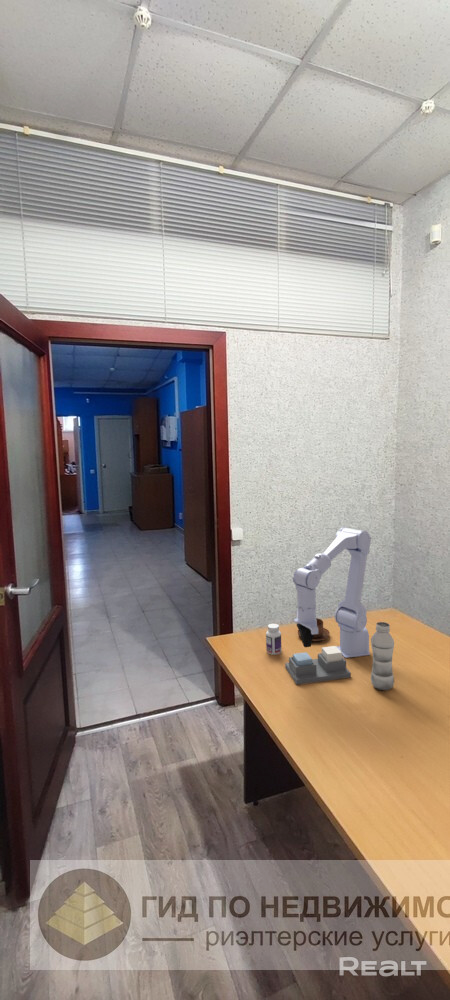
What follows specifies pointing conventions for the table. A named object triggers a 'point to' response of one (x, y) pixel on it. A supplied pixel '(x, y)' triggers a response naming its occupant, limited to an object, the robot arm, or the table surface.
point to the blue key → (302, 659)
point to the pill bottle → (273, 639)
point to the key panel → (317, 670)
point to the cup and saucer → (319, 632)
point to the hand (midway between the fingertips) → (307, 646)
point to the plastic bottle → (382, 657)
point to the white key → (331, 654)
